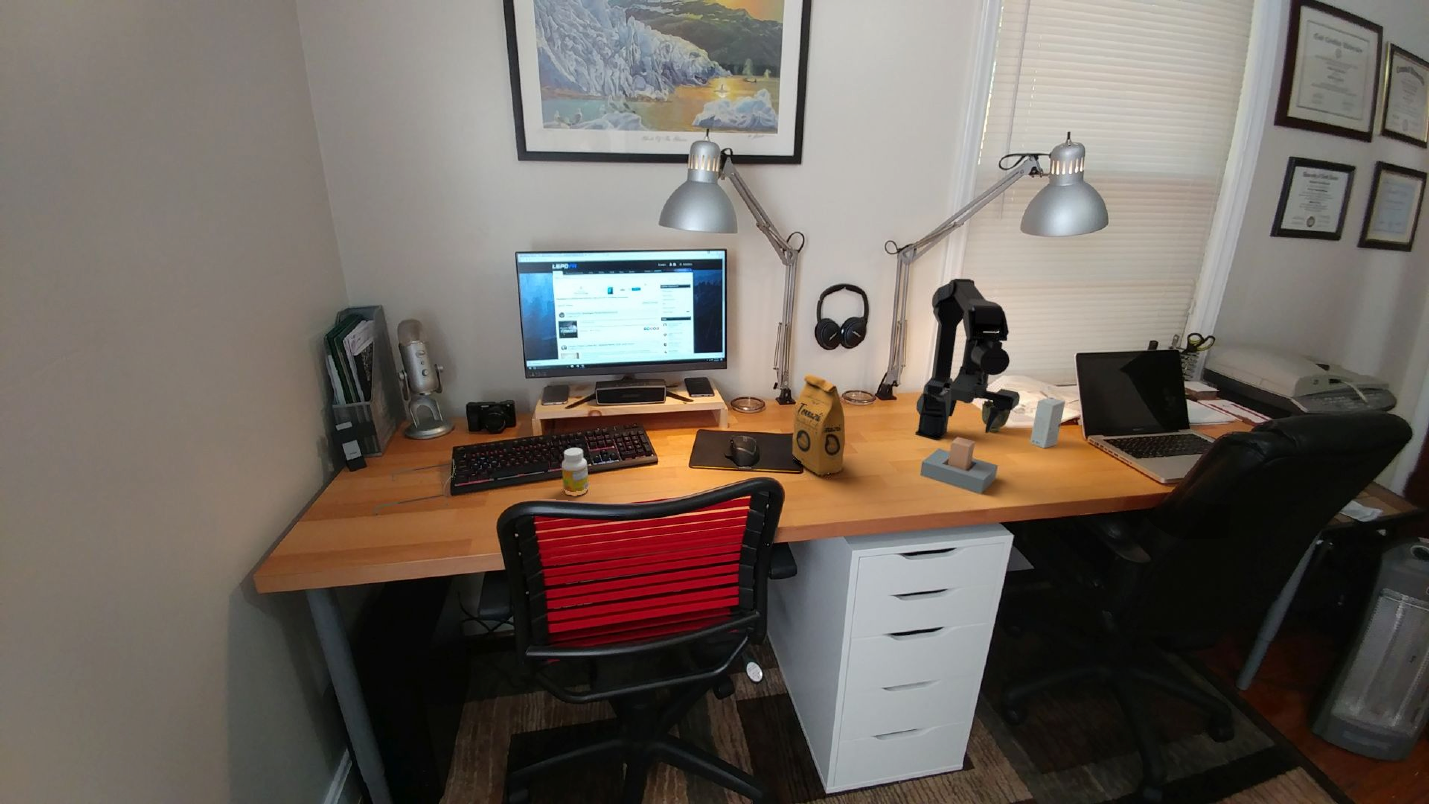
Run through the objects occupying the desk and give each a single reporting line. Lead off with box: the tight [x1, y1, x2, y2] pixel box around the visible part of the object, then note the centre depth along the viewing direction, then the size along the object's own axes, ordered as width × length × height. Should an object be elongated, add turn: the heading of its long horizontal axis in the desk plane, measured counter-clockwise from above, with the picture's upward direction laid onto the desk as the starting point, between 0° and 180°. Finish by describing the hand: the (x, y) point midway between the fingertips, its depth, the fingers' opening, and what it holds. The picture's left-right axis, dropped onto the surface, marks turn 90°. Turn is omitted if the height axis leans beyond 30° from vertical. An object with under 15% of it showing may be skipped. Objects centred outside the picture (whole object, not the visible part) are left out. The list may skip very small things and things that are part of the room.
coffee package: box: [791, 373, 846, 476], centre depth 142 cm, size 10×12×22 cm
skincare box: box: [1029, 397, 1066, 449], centre depth 158 cm, size 6×4×12 cm
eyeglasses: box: [373, 458, 456, 514], centre depth 131 cm, size 16×15×5 cm
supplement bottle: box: [561, 447, 589, 492], centre depth 131 cm, size 5×5×10 cm
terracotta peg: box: [948, 436, 976, 471], centre depth 139 cm, size 4×4×9 cm
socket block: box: [919, 448, 999, 495], centre depth 140 cm, size 14×10×4 cm
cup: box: [981, 400, 1012, 433], centre depth 166 cm, size 8×7×8 cm
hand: (965, 427), depth 137 cm, fingers open, 9 cm apart
